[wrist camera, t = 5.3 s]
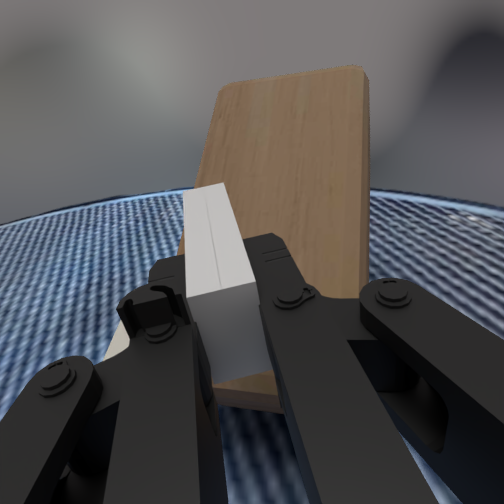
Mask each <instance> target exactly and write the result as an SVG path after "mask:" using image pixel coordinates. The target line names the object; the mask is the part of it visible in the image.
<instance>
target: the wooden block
mask: <svg viewBox="0 0 504 504" xmlns="http://www.w3.org/2000/svg"><path fill="white" fill-rule="evenodd" d="M219 183H224V186H225V189H226V192H227V195H228V198H229V201H230V204H231V207H232V210H233V213H234V216H235V219H236V222H237V225H238V228H239V232H240V235H241V238H242V239H246V238H250V237H255V236H259V235H263V234H268V233H273V234H275V235H277V236H279V237H280V238H282V239H283V241H284V242H285V244H286V246H287V249H288V250H289V252H290V254H291V256H292V257H293V259H294V261H295V263H296V265H297V267H298V269H299V270H300V272H301V274H302V276H303V278H304V280H305V282H306V283H307V284H309V285H312V286H314V287H315V288H316V289H317V290H318V291H319V292H320V294H321V295H322V296H326V297H330V298H359V293H360V291H361V290H362V288H363V286H365V285H366V284H368V283H369V222H370V117H369V80H368V77H367V76H366V74H365V72H364V70H363V68H362V67H361V66H356V65H347V66H341V67H334V68H327V69H320V70H314V71H308V72H300V73H294V74H287V75H280V76H274V77H267V78H260V79H254V80H247V81H240V82H234V83H229V84H228V85H226V86H224V87H223V88H222V89H221V90H220V91H219V93H218V97H217V101H216V105H215V108H214V112H213V116H212V120H211V124H210V128H209V132H208V136H207V139H206V143H205V147H204V152H203V155H202V159H201V163H200V167H199V171H198V175H197V178H196V182H195V186H194V189H196V188H201V187H205V186H210V185H214V184H219ZM182 254H185V238H184V229H183V233H182V237H181V241H180V245H179V248H178V252H177V256H178V255H182ZM211 378H212V376H211ZM212 388H213V392H214V395H215V398H216V401H217V404H220V405H224V406H230V407H237V408H244V409H251V410H258V411H265V412H272V413H279V414H284V411H283V408H281V407H280V401H279V396H278V391H277V386H276V381H275V376H274V371H273V370H269V371H265V372H261V373H258V374H254V375H250V376H246V377H242V378H238V379H234V380H230V381H226V382H222V383H218V384H215V385H214V382H213V379H212Z"/></svg>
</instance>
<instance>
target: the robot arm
mask: <svg viewBox="0 0 504 504" xmlns="http://www.w3.org/2000/svg"><path fill="white" fill-rule="evenodd" d="M183 205H184V238H185V254H182V255H178V256H173V257H169V258H165V259H160V260H157V262H156V263H155V264H154V266H153V267H152V268H151V269H150V271H149V279H148V284H146V285H144V286H141V287H138V288H137V289H135V290H133V291H131V292H130V293H128V294H127V295H126V296H125V297H124V298H123V299H122V300H121V301H120V302H119V304H118V306H117V308H116V310H117V312H118V314H119V316H120V319H121V321H122V323H123V325H124V327H125V330H126V332H127V334H128V336H129V339H130V341H129V346H128V347H127V348H126V349H124V350H123V351H122V352H120V353H118V354H116V355H115V356H113V357H111V358H109V359H106V360H104V361H102V362H100V363H98V364H96V365H94V366H93V364H92V362H91V361H90V360H89V359H87V358H86V357H84V356H70V357H65V358H61V359H59V360H57V361H55V362H53V363H51V364H49V365H47V366H46V367H44V368H43V369H42V370H40V371H39V372H38V373H36V374H35V376H34V377H33V378H32V379H31V380H30V381H29V382H28V383H27V385H26V386H25V387H24V389H23V390H22V392H21V393H20V395H19V396H18V397H17V399H16V400H15V402H14V403H13V405H12V406H11V407H10V409H9V410H8V412H7V413H6V414H5V416H4V417H3V419H2V420H1V422H0V504H228V495H227V486H226V477H225V468H224V459H223V450H222V441H221V432H220V423H219V414H218V405H217V401H216V398H215V395H214V392H213V388H212V379H213V382H214V385H215V384H218V383H222V382H226V381H230V380H234V379H238V378H242V377H246V376H250V375H254V374H258V373H261V372H265V371H269V370H273V371H274V376H275V381H276V386H277V391H278V396H279V401H280V407H281V408H283V411H284V415H285V418H286V422H287V425H288V429H289V432H290V436H291V440H292V443H293V447H294V450H295V454H296V457H297V461H298V464H299V468H300V471H301V475H302V478H303V482H304V485H305V489H306V492H307V496H308V500H309V503H310V504H439V503H438V501H437V499H436V497H435V496H434V494H433V492H432V490H431V489H430V487H429V485H428V483H427V481H426V480H425V478H424V476H423V474H422V473H421V471H420V469H419V467H418V466H417V464H416V462H415V460H414V458H413V457H412V455H411V453H410V451H409V450H408V448H407V446H406V444H405V443H404V441H403V439H402V437H401V435H400V434H399V432H400V433H401V434H402V435H403V437H404V438H405V439H406V440H407V441H408V442H409V443H410V444H411V446H412V447H413V448H414V449H415V450H416V451H417V452H418V453H419V455H420V456H421V457H422V458H423V459H424V460H425V461H426V463H427V464H428V465H429V466H430V467H431V468H432V469H433V470H434V472H435V473H436V474H437V475H438V476H439V477H440V478H441V479H442V481H443V482H444V483H445V484H446V485H447V486H448V487H449V488H450V490H451V491H452V492H453V493H454V494H455V495H456V496H457V497H458V499H459V500H460V501H461V502H462V503H463V504H504V340H503V339H501V338H500V337H498V336H497V335H495V334H494V333H492V332H490V331H489V330H487V329H486V328H484V327H483V326H481V325H479V324H478V323H476V322H475V321H473V320H472V319H470V318H469V317H467V316H465V315H464V314H462V313H461V312H459V311H458V310H456V309H454V308H453V307H451V306H450V305H448V304H447V303H445V302H444V301H442V300H440V299H439V298H437V297H436V296H434V295H433V294H431V293H429V292H428V291H426V290H425V289H423V288H422V287H420V286H419V285H416V284H414V283H412V282H410V281H408V280H403V279H398V278H382V279H378V280H374V281H371V282H370V283H368V284H366V285H365V286H363V288H362V290H361V291H360V293H359V298H330V297H326V296H322V295H321V294H320V292H319V291H318V290H317V289H316V288H315V287H314V286H312V285H309V284H307V283H306V282H305V280H304V278H303V276H302V274H301V272H300V270H299V269H298V267H297V265H296V263H295V261H294V259H293V257H292V256H291V254H290V252H289V250H288V249H287V246H286V244H285V242H284V241H283V239H282V238H280V237H279V236H277V235H275V234H273V233H268V234H263V235H259V236H255V237H250V238H246V239H242V238H241V235H240V232H239V228H238V225H237V222H236V219H235V216H234V213H233V210H232V207H231V204H230V201H229V198H228V195H227V192H226V189H225V186H224V183H219V184H214V185H210V186H205V187H201V188H196V189H192V190H187V191H183ZM211 376H212V378H211ZM398 431H399V432H398Z"/></svg>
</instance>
